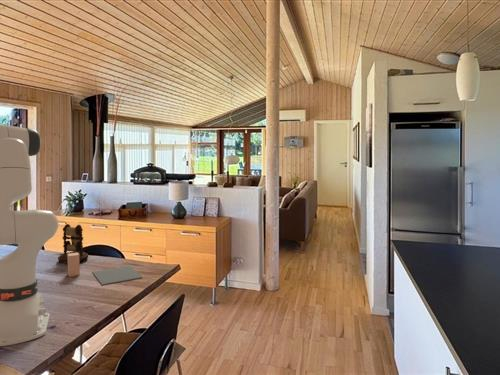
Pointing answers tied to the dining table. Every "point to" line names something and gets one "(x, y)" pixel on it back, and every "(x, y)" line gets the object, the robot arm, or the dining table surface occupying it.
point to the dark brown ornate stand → (73, 243)
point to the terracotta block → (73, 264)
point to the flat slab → (116, 275)
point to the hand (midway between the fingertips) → (51, 228)
